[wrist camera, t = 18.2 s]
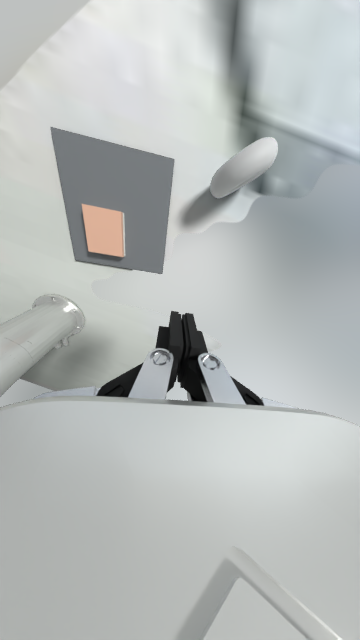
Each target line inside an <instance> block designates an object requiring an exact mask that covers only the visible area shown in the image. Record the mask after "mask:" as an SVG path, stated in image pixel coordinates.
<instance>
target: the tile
mask: <svg viewBox="0 0 360 640" xmlns="http://www.w3.org/2000/svg"><path fill="white" fill-rule="evenodd" d="M82 210H83V217H84V224H85V231H86V238H87V245H88V251H89V252H95V253H101V254H107V255H113V256H119V257H124V256H125V225H124V213H123V212H120V211H115V210H110V209H105V208H100V207H95V206H90V205H86V204H82Z"/></svg>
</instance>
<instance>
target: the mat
mask: <svg viewBox="0 0 360 640" xmlns="http://www.w3.org/2000/svg"><path fill="white" fill-rule="evenodd" d="M51 132H52V137H53V143H54V148H55V153H56V159H57V164H58V170H59V175H60V180H61V186H62V191H63V196H64V202H65V207H66V212H67V218H68V223H69V228H70V234H71V239H72V244H73V250H74V255H75V260H79V261H85V262H91V263H98V264H104V265H110V266H116V267H122V268H128V269H134V270H140V271H146V272H153V273H158V274H162V272H163V264H164V254H165V244H166V235H167V225H168V215H169V206H170V196H171V187H172V177H173V167H174V159H172V158H168V157H164V156H161V155H157V154H153V153H149V152H145V151H141V150H138V149H134V148H130V147H126V146H122V145H118V144H115V143H111V142H107V141H103V140H99V139H95V138H92V137H88V136H84V135H80V134H76V133H72V132H69V131H65V130H61V129H57V128H53V127H51ZM82 204H86V205H90V206H95V207H100V208H105V209H110V210H115V211H120V212H123V213H124V225H125V256H124V257H119V256H113V255H107V254H101V253H95V252H89V251H88V245H87V238H86V231H85V224H84V217H83V210H82Z"/></svg>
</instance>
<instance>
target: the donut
mask: <svg viewBox="0 0 360 640" xmlns="http://www.w3.org/2000/svg"><path fill="white" fill-rule="evenodd" d="M277 152H278V145H277V141H276V140H275V139H274V138H271V137H266V138H262V139H260V140H257V141H256V142H254V143H252V144H250V145H249V146H247V147H246V148H244V149H243V150H241V151H240V152H238V153H237V154H236V155H234V156H233V157H232V158H230V159H229V160H228V161H227V162H226V163H225V164H223V165H222V166H221V167H220V168H219V169H218V170H217V172H216V173H215V174H214V176H213V178H212V181H211V185H210V190H211V193H212V195H213V196H214V197H215V198H222V197H225V196H227V195H229V194H231V193H233V192H235V191H236V190H238V189H240V188H241V187H243V186H245V185H246V184H248V183H249V182H251V181H253V180H254V179H256V178H257V177H259V176H260V175H261V174H263V173H264V172H265V171H266V170H268V169H269V168H270V167H271V165H272V164H273V162H274V160H275V158H276V155H277Z"/></svg>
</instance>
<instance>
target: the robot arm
mask: <svg viewBox="0 0 360 640" xmlns="http://www.w3.org/2000/svg"><path fill="white" fill-rule="evenodd" d="M84 324H85V319H84V316H83V313H82V312H81V310H80V309H79V308H78V306H77V305H75V304H74V303H73V302H72V301H70V300H69V299H66V298H64V297H62V296H59V295H44V296H41V297H39V298H38V299H36V300H35V301H34V303H33V307H32V309H31V310H29V311H27V312H25V313H23V314H21V315H19V316H17V317H15V318H12V319H10V320H8V321H6V322H4V323H2V324H0V397H1V396H2V395H3V394H4V393H5V392H6V391H7V390H8V389H9V388H10V387H11V386H12V385H13V384H14V383H15V382H16V381H17V380H18V379H19V378H20V377H21V376H22V375H23V374H25V373H26V372H27V371H28V370H29V369H30V368H31V367H32V366H33V365H34V364H36V363H37V362H38V361H39V360H40V359H41V358H42V357H43V356H44V355H45V354H47V353H48V352H49V351H50V350H51V349H52V348H53V347H54V348H55V349H57V348H60V347H61V346H62V344H61V340H62V343H63V345H64V346H66V345H68V344H69V342H68V340H67V338H68V337H69V336H70V335H74V334H77V333H78V332H80V331H81V330H82V328H83V327H84ZM177 376H178V377H177ZM176 377H177V378H178V382H180V383H181V388H184V389H185V390H187V397H188V401H180V400H165V399H166V393H167V392H168V391H169V390H170V389H171V388H173V386H174V382H176ZM0 640H360V426H358V425H356V424H354V423H351V422H349V421H347V420H344V419H342V418H339V417H335V416H332V415H329V414H325V413H321V412H316V411H311V410H304V409H299V408H296V407H293V406H290V405H286V404H283V403H279V402H276V401H273V400H269V399H266V398H261V399H260V398H259V397H258V396H256V394H254V393H253V392H252V391H250V390H249V389H248V388H246V387H245V386H243V385H242V384H240V383H239V382H237V381H236V380H235V379H234V378H232V377H231V376H230V375H229V374H228V372H227V370H226V368H225V366H224V365H223V363H222V361H221V360H220V359H219V358H218V357H217V356H215V355H213V354H210V353H208V351H207V348H206V344H205V341H204V337H203V334H202V332H201V331H197V329H196V325H195V321H194V317H193V314H189V313H186V314H185V315H182V320H181V314H178V312H174V311H171V316H170V322H169V327H162V326H159V331H158V337H157V343H156V349H153V350H151V351H150V352H149V353H148V354H147V357H146V359H145V361H144V363H142V364H140V365H138V366H137V367H135V368H133V369H131V370H129V371H128V372H126V373H124V374H122V375H120V376H119V377H117V378H115V379H113V380H112V381H110V382H108V383H106V384H105V385H104V386H102V387H101V388H96V386H92V387H84V388H76V389H69V390H61V391H53V392H47V393H44V394H41V395H39V396H37V397H35V398H34V399H31V400H26V401H22V402H18V403H15V404H10V405H6V406H3V407H0Z"/></svg>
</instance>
